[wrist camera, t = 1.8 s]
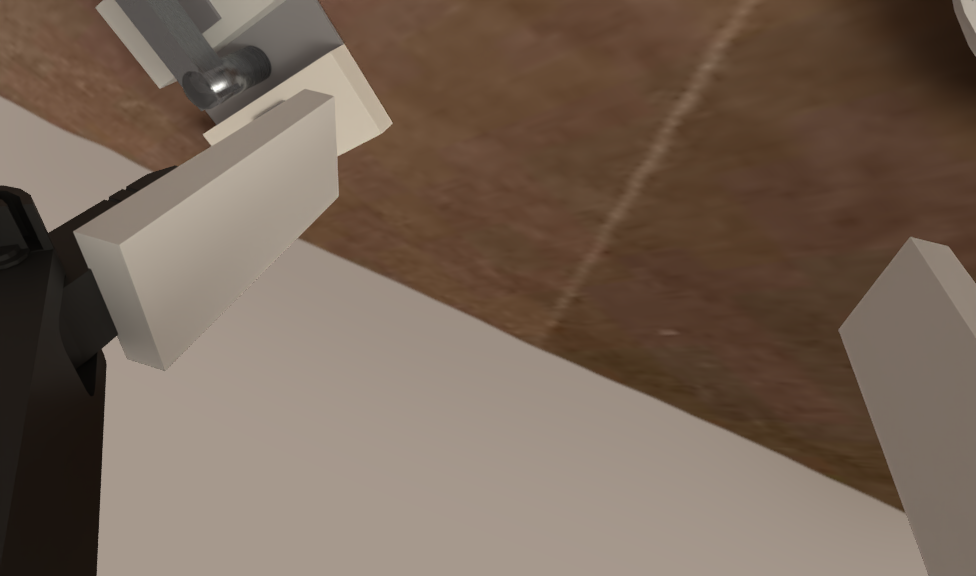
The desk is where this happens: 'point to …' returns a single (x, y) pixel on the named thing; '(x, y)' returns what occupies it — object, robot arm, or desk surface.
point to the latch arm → (195, 53)
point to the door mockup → (292, 53)
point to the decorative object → (967, 20)
